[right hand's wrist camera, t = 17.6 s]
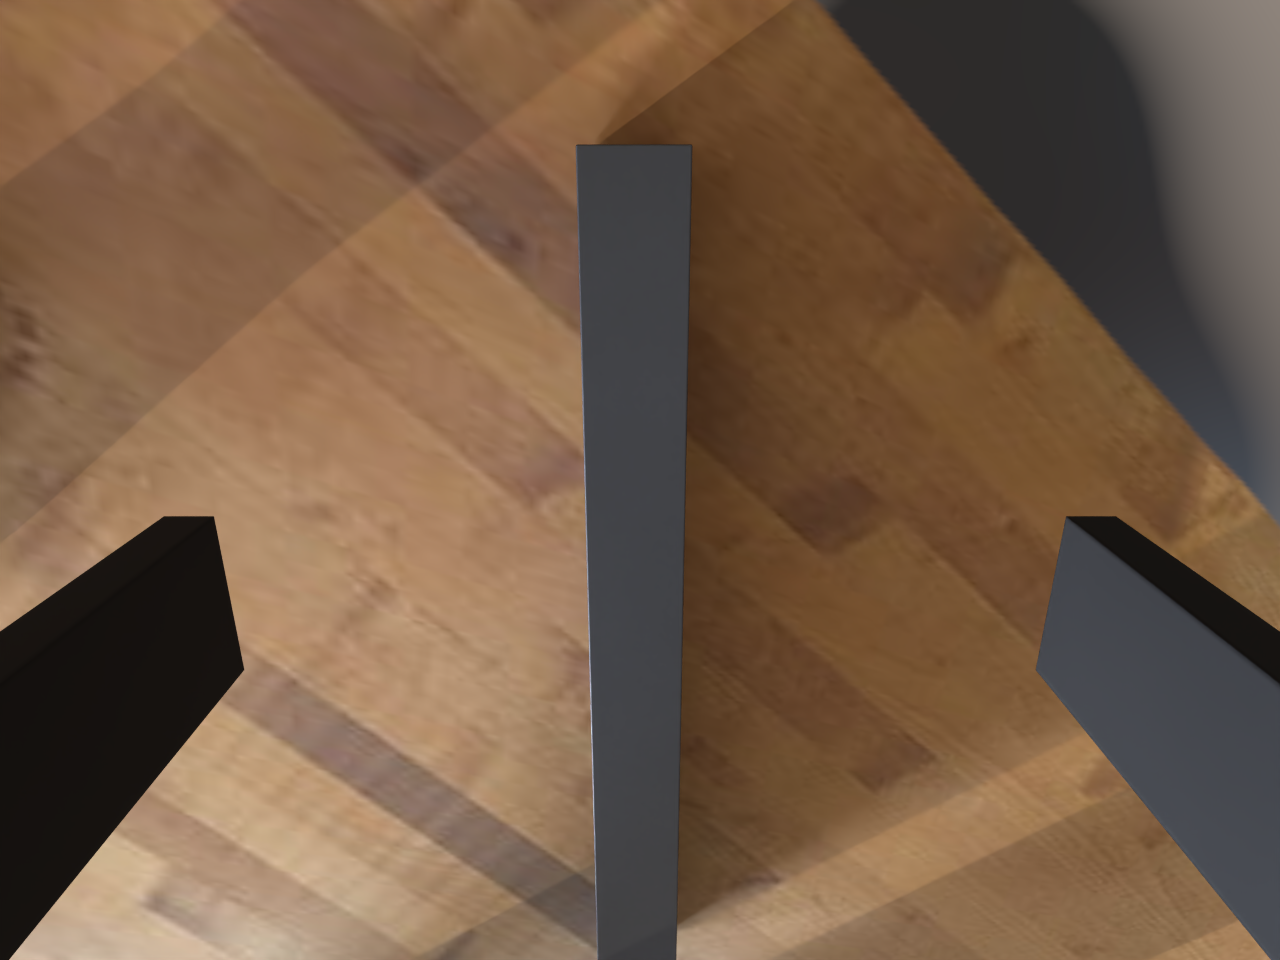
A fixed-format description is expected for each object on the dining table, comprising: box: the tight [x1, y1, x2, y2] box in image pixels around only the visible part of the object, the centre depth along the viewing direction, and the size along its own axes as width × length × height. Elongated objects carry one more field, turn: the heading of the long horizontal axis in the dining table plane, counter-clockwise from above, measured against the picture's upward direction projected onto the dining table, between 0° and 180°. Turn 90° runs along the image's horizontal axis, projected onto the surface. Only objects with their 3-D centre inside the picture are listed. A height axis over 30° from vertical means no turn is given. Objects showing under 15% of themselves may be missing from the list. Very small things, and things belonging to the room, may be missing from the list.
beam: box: [576, 145, 692, 960], centre depth 48 cm, size 55×5×8 cm, turn 0°
